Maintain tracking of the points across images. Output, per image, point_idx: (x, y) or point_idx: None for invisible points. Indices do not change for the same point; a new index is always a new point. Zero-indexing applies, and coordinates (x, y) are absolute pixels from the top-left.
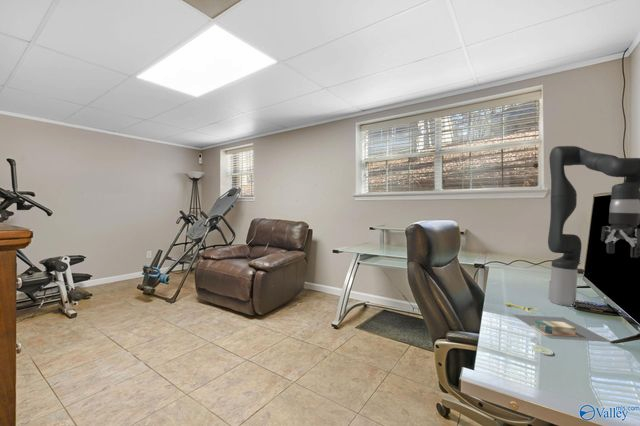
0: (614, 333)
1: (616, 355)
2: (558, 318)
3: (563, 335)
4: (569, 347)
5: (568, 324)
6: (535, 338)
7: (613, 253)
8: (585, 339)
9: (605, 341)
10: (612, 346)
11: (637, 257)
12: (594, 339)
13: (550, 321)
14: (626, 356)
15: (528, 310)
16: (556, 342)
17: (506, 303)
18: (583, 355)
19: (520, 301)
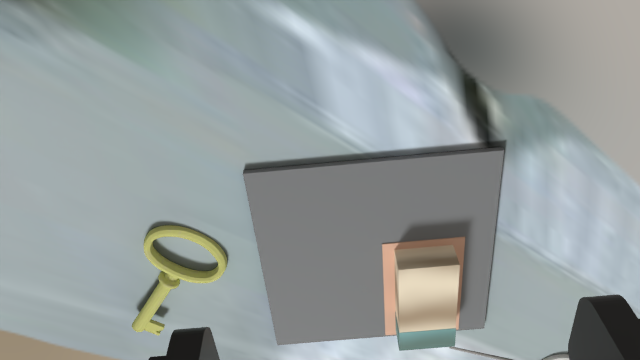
0: (390, 53)
1: (590, 204)
2: (266, 203)
3: (460, 282)
4: (534, 299)
5: (424, 268)
6: (478, 354)
7: (207, 329)
8: (487, 232)
9: (499, 174)
10: (525, 166)
11: (609, 301)
12: (484, 201)
13: (402, 310)
14: (599, 177)
15: (207, 280)
16: (500, 315)
17: (148, 330)
18: (584, 293)
19: (20, 235)
